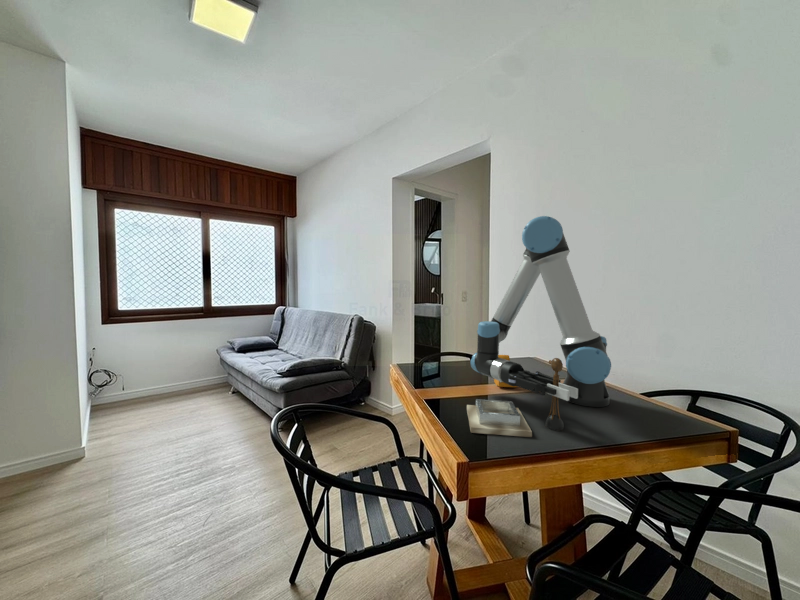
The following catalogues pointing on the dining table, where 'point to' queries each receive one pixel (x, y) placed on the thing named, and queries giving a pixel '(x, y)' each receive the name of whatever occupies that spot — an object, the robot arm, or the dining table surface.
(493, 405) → the collar
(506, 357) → the bracket
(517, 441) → the dining table surface
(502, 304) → the robot arm
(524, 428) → the stand
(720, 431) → the dining table surface
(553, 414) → the wooden tabletop sculpture
